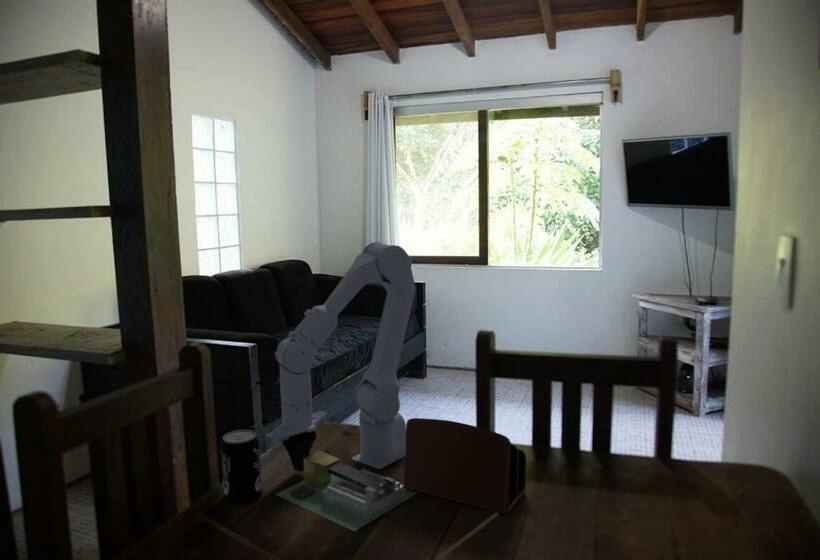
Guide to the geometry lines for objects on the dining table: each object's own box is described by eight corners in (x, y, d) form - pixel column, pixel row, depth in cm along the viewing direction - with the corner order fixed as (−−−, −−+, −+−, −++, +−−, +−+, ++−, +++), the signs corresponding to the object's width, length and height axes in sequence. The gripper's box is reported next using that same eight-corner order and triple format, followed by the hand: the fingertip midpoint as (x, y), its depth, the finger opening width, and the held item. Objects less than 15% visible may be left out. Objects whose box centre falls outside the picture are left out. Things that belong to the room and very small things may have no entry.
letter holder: (507, 516, 104) (509, 434, 102) (403, 489, 113) (403, 414, 111) (526, 492, 112) (528, 416, 111) (427, 470, 122) (429, 399, 120)
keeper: (320, 475, 119) (319, 450, 118) (341, 484, 116) (340, 458, 115) (304, 483, 116) (303, 457, 115) (325, 492, 112) (324, 466, 112)
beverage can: (252, 510, 108) (248, 444, 106) (217, 506, 109) (213, 441, 108) (268, 492, 114) (264, 429, 113) (235, 489, 116) (231, 427, 114)
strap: (339, 467, 115) (339, 462, 114) (388, 487, 107) (388, 482, 107) (327, 473, 112) (327, 467, 112) (376, 494, 105) (376, 488, 104)
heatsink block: (363, 482, 116) (362, 460, 115) (404, 498, 110) (404, 475, 109) (323, 503, 109) (322, 479, 108) (365, 522, 102) (364, 497, 102)
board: (339, 466, 124) (339, 460, 124) (417, 496, 112) (417, 489, 112) (275, 497, 112) (275, 491, 112) (354, 534, 100) (354, 527, 99)
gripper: (284, 417, 110) (287, 489, 112) (337, 393, 122) (340, 459, 124) (256, 409, 114) (260, 480, 116) (310, 388, 126) (313, 452, 128)
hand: (299, 469), depth 120 cm, fingers closed
